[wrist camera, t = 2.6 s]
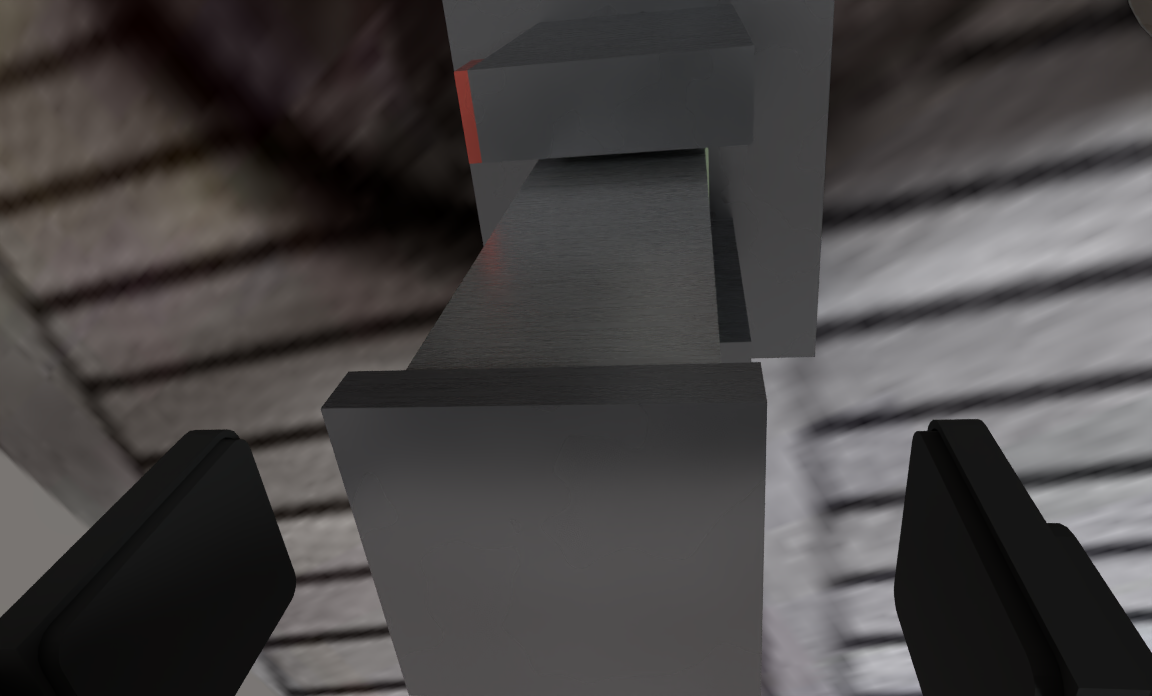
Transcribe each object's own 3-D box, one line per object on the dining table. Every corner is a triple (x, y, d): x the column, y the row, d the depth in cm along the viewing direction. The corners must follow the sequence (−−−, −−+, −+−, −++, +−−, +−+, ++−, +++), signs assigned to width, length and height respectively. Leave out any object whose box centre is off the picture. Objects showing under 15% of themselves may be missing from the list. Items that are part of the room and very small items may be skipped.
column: (562, 88, 25) (320, 408, 8) (713, 76, 24) (767, 402, 8) (577, 229, 27) (409, 696, 11) (715, 222, 26) (759, 712, 10)
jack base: (452, -95, 25) (290, -108, 15) (825, -142, 24) (934, -192, 13) (517, 329, 33) (439, 515, 23) (804, 320, 31) (862, 519, 21)
